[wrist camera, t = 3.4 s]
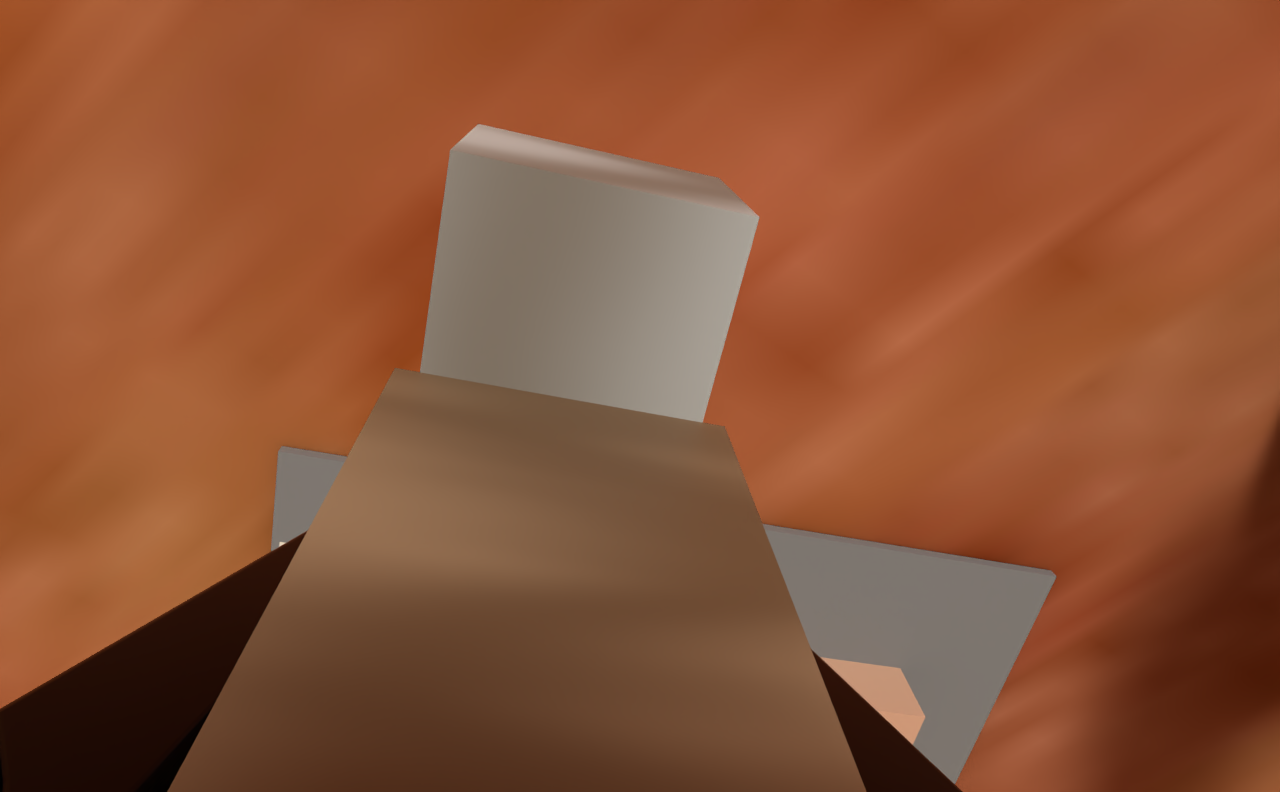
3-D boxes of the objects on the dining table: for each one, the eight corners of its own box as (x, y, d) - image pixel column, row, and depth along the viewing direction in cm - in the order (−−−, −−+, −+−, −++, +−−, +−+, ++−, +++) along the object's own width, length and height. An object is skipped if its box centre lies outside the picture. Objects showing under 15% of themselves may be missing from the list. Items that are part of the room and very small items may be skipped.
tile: (900, 668, 26) (925, 716, 24) (848, 788, 27) (868, 841, 26) (743, 646, 25) (757, 694, 23) (701, 771, 27) (711, 825, 25)
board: (1051, 570, 25) (1056, 576, 25) (903, 874, 30) (906, 882, 29) (281, 446, 22) (278, 451, 21) (255, 810, 26) (251, 819, 26)
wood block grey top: (738, 182, 11) (1328, 703, 2) (606, 678, 14) (659, 1690, 5) (456, 119, 10) (-84, 500, 2) (384, 651, 13) (51, 1727, 5)
